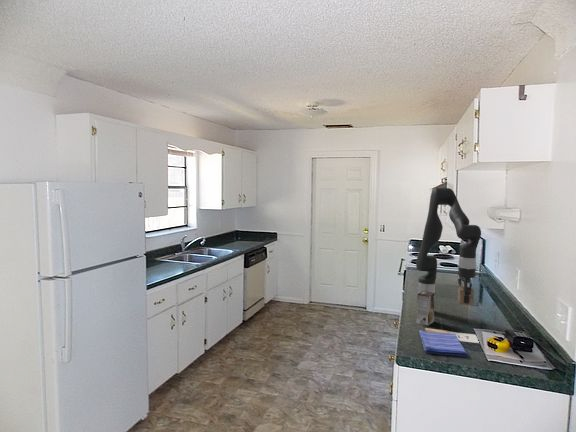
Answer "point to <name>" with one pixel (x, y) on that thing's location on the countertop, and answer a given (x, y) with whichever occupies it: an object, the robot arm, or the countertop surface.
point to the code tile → (466, 337)
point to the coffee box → (425, 308)
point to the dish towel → (442, 344)
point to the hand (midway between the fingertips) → (465, 301)
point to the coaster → (436, 330)
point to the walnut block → (461, 296)
